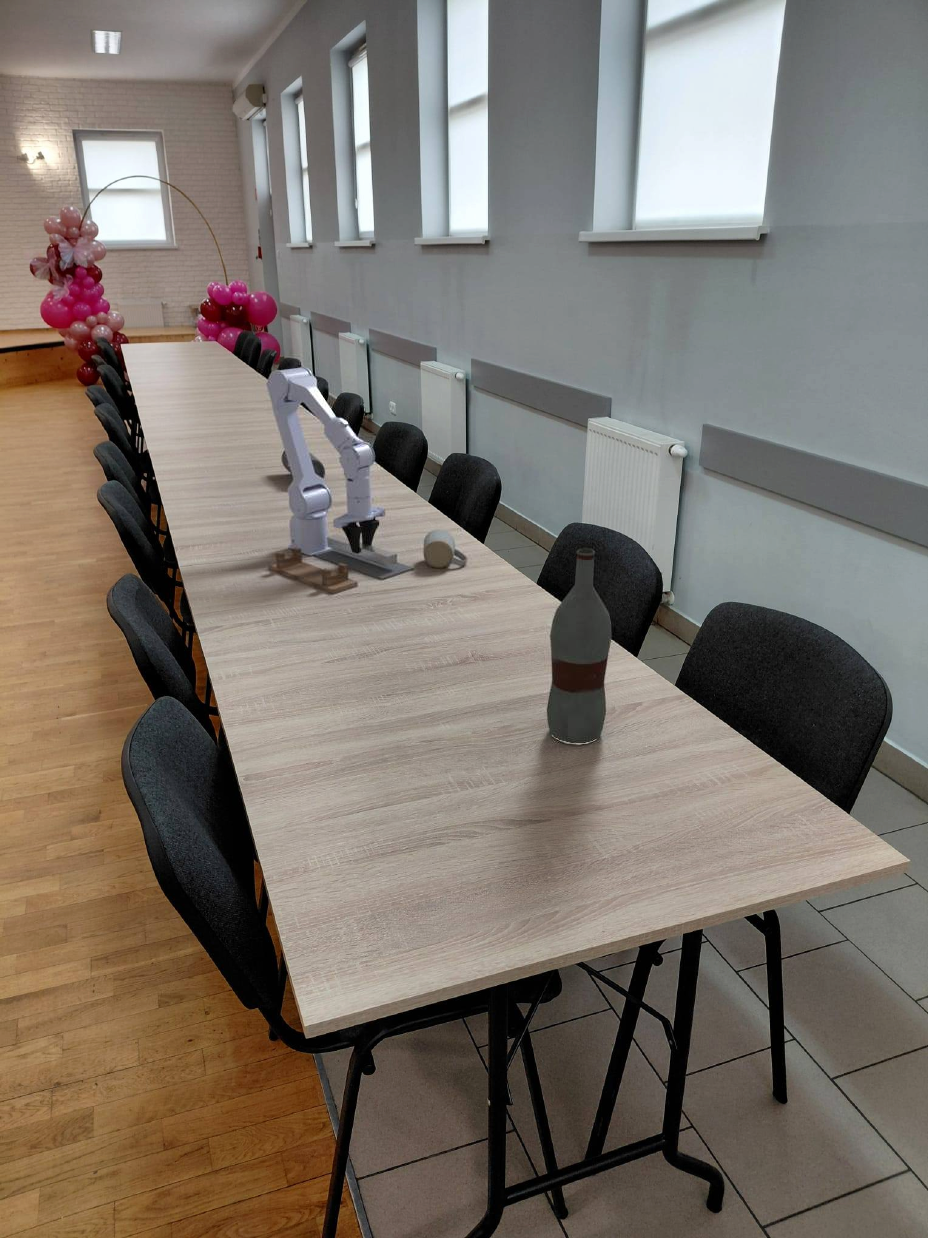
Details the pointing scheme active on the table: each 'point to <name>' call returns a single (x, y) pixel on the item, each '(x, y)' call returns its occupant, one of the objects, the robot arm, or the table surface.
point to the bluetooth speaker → (316, 464)
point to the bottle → (579, 659)
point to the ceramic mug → (442, 550)
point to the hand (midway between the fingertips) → (361, 550)
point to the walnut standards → (312, 572)
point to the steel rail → (363, 551)
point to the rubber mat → (364, 564)
